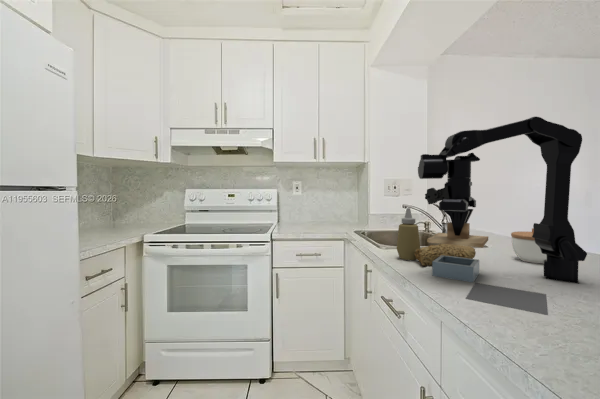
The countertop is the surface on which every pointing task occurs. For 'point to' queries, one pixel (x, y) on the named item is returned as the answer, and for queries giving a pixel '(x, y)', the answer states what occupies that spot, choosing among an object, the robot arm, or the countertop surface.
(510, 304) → the rubber mat
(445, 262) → the ceramic dish
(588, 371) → the countertop surface
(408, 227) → the squeeze bottle
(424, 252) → the sponge
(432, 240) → the oak lid
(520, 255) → the lidded bowl
